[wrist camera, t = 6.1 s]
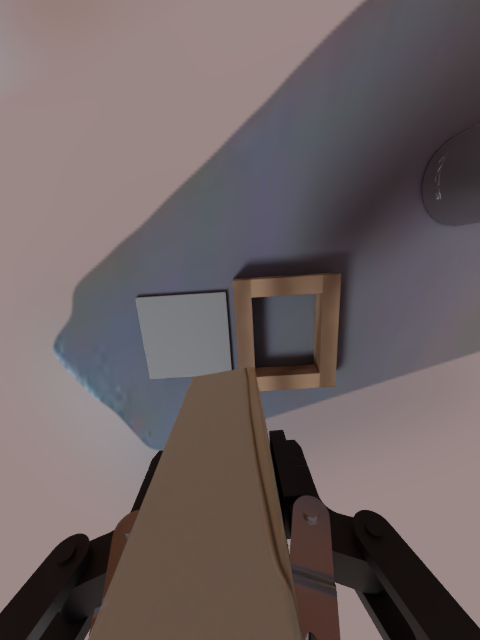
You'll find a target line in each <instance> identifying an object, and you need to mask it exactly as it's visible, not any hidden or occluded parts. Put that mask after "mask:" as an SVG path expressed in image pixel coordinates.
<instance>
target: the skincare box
mask: <svg viewBox="0 0 480 640" xmlns="http://www.w3.org/2000/svg"><path fill="white" fill-rule="evenodd" d="M88 640H304V639H303V633H302V628H301V622H300V616H299V611H298V605H297V599H296V594H295V588H294V582H293V576H292V569H291V563H290V555H289V549H288V544H287V538H286V533H285V527H284V522H283V516H282V511H281V506H280V500H279V495H278V489H277V483H276V478H275V472H274V467H273V461H272V455H271V450H270V444H269V439H268V433H267V428H266V422H265V417H264V411H263V406H262V401H261V396H260V391H259V386H258V381H257V377H256V372H255V368H254V367H247V368H241V369H235V370H229V371H224V372H218V373H213V374H207V375H202V376H197V377H194V378H192V380H191V383H190V385H189V388H188V390H187V393H186V395H185V398H184V400H183V403H182V405H181V408H180V410H179V413H178V415H177V418H176V420H175V423H174V425H173V428H172V431H171V433H170V436H169V438H168V441H167V443H166V446H165V448H164V451H163V453H162V455H161V458H160V461H159V463H158V466H157V468H156V471H155V473H154V476H153V478H152V481H151V483H150V485H149V488H148V490H147V493H146V495H145V498H144V500H143V503H142V505H141V508H140V510H139V513H138V516H137V518H136V521H135V523H134V526H133V528H132V531H131V533H130V536H129V538H128V541H127V543H126V546H125V548H124V551H123V553H122V556H121V558H120V561H119V563H118V566H117V568H116V571H115V573H114V576H113V578H112V581H111V583H110V586H109V588H108V591H107V593H106V596H105V598H104V601H103V603H102V606H101V608H100V611H99V613H98V616H97V618H96V621H95V623H94V626H93V628H92V631H91V633H90V636H89V638H88Z"/></svg>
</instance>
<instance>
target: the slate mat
mask: <svg viewBox="0 0 480 640" xmlns="http://www.w3.org/2000/svg"><path fill="white" fill-rule="evenodd" d="M135 301H136V306H137V311H138V317H139V322H140V328H141V333H142V338H143V344H144V349H145V355H146V360H147V365H148V371H149V376H150V379H160V378H177V377H193V376H202V375H207V374H213V373H218V372H224V371H229V370H232V365H231V353H230V340H229V328H228V315H227V302H226V292H213V293H198V294H182V295H167V296H151V297H136V298H135Z"/></svg>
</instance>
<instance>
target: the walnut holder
mask: <svg viewBox="0 0 480 640" xmlns="http://www.w3.org/2000/svg"><path fill="white" fill-rule="evenodd" d="M340 288H341V274H339V273H316V274H301V275H285V276H269V277H254V278H238V279H233V295H234V309H235V323H236V337H237V352H238V366H239V369H241V368H247V367H254V368H255V358H254V338H253V318H252V298H253V297H269V296H284V295H300V294H315V318H314V359H313V364H308V365H292V366H276V367H260V368H255V372H256V377H257V381H258V386H259V391H271V390H287V389H304V388H320V387H335V382H336V363H337V344H338V325H339V307H340Z"/></svg>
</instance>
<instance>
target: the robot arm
mask: <svg viewBox="0 0 480 640" xmlns="http://www.w3.org/2000/svg"><path fill="white" fill-rule="evenodd" d="M422 195H423V201H424V204H425V207H426V209H427V211H428V212H429V213H430V215H431V216H432V217H433V218H434V219H436V220H437V221H438V222H441V223H443V224H446V225H452V226H455V225H465V224H472V223H479V222H480V123H478V124H476V125H474V126H473V127H471V128H469V129H467V130H465V131H464V132H462V133H460V134H458V135H457V136H455V137H453V138H451V139H450V140H449V141H447V142H446V143H445V144H444V145H442V146H441V147H440V149H439V150H438V151H437V152H436V153H435V154H434V156H433V157H432V159H431V161H430V162H429V164H428V167H427V169H426V171H425V174H424V179H423V183H422ZM269 435H270V450H271V455H272V461H273V467H274V472H275V478H276V483H277V489H278V495H279V500H280V506H281V511H282V516H283V522H284V527H285V533H286V538H287V539H291V544H290V563H291V569H292V576H293V582H294V588H295V594H296V599H297V605H298V611H299V616H300V622H301V628H302V633H303V639H304V640H340V628H339V616H338V602H337V591H336V585H335V582H336V583H339V584H341V585H345V586H347V587H350V588H353V589H355V591H356V593H357V595H358V596H359V598H360V600H361V602H362V603H363V605H364V607H365V609H366V610H367V612H368V614H369V616H370V617H371V619H372V621H373V623H374V624H375V626H376V628H377V629H378V631H379V633H380V635H381V636H382V638H383V640H480V628H479V627H478V626H477V625H476V624H475V622H474V621H473V620H472V619H471V618H470V617H469V616H468V614H467V613H466V612H465V611H464V610H463V609H462V607H461V606H460V605H459V604H458V603H457V602H456V600H455V599H454V598H453V597H452V596H451V595H450V593H449V592H448V591H447V590H446V589H445V588H444V587H443V585H442V584H441V583H440V582H439V581H438V579H437V578H436V577H435V576H434V575H433V574H432V573H431V571H430V570H429V569H428V568H427V567H426V566H425V564H424V563H423V562H422V561H421V560H420V559H419V557H418V556H417V555H416V554H415V553H414V552H413V550H412V549H411V548H410V547H409V546H408V545H407V543H406V542H405V541H404V540H403V539H402V538H401V536H400V535H399V534H398V533H397V532H396V531H395V529H394V528H393V527H392V526H391V525H390V524H389V523H388V522H387V520H386V519H384V518H383V517H382V516H381V515H379V514H377V513H375V512H373V511H369V510H361V511H359V512H357V513H356V514H355V516H354V517H349V516H346V515H342V514H339V513H336V512H334V511H332V510H330V509H329V508H328V507H326V506H325V505H324V504H323V502H322V501H321V499H320V498H319V496H318V493H317V490H316V488H315V485H314V482H313V479H312V477H311V474H310V471H309V468H308V466H307V463H306V460H305V458H304V454H303V451H302V449H301V447H300V446H299V444H298V443H297V442H296V441H295V440H286V439H285V435H284V432H283V430H275V431H269ZM163 451H164V450H162V451H159V452H158V453H157V454H156V456H155V457H154V458H153V459H152V461H151V464H150V466H149V469H148V471H147V474H146V476H145V479H144V481H143V483H142V486H141V488H140V491H139V493H138V496H137V498H136V500H135V503H134V505H133V508H132V510H131V512H130V513H129V514H127V515H126V516H125V517H124V518H123V519H122V520H121V521H120V522H119V523H118V525H117V526H116V528H115V530H113V531H112V532H110V533H108V534H106V535H103V536H101V537H98V538H96V539H94V540H91V541H89V539H88V537H87V536H86V535H84V534H75V535H73V536H70V537H68V538H67V539H65V540H64V541H62V542H61V543H60V544H59V545H58V546H57V547H55V549H54V550H53V551H52V552H51V553H50V555H49V556H48V557H47V558H46V559H45V560H44V562H43V563H42V564H41V565H40V566H39V568H38V569H37V570H36V571H35V572H34V574H33V575H32V576H31V577H30V578H29V580H28V581H27V582H26V583H25V584H24V586H23V587H22V588H21V589H20V591H19V592H18V593H17V594H16V595H15V596H14V598H13V599H12V600H11V601H10V602H9V603H8V605H7V606H6V607H5V608H4V609H3V611H2V612H1V613H0V640H84V639H85V637H86V635H87V633H88V632H89V630H90V633H91V631H92V628H93V626H94V623H95V621H96V618H97V616H98V613H99V611H100V608H101V606H102V603H103V601H104V598H105V596H106V593H107V591H108V588H109V586H110V583H111V581H112V578H113V576H114V573H115V571H116V568H117V566H118V563H119V561H120V558H121V556H122V553H123V551H124V548H125V546H126V543H127V541H128V538H129V536H130V533H131V531H132V528H133V526H134V523H135V521H136V518H137V516H138V513H139V510H140V508H141V505H142V503H143V500H144V498H145V495H146V493H147V490H148V488H149V485H150V483H151V481H152V478H153V476H154V473H155V471H156V468H157V466H158V463H159V461H160V458H161V455H162V453H163ZM90 633H89V636H90Z"/></svg>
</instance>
